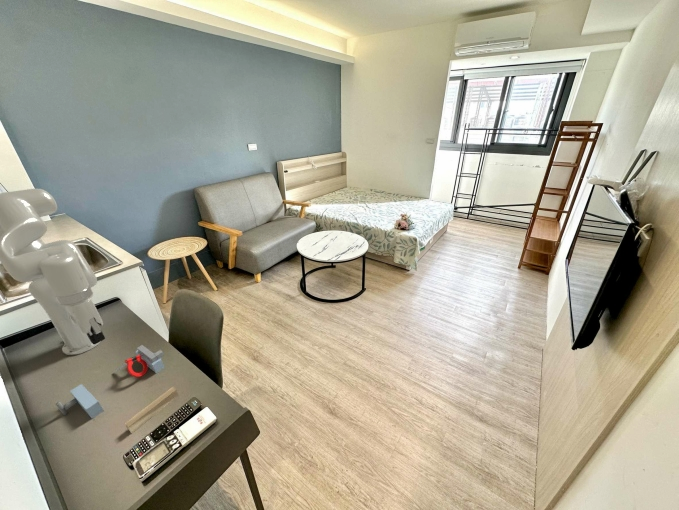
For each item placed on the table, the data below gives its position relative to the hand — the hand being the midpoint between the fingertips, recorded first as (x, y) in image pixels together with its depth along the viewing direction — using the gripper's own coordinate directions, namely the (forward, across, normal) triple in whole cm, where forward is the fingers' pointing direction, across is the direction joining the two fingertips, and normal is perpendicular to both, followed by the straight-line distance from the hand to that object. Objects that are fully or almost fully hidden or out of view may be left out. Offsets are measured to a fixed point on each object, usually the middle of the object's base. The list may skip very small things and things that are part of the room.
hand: (98, 340), depth 88 cm
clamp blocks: (+17, +5, 0) cm, 18 cm away
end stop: (+16, +25, 0) cm, 30 cm away
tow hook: (+18, +6, +2) cm, 19 cm away
